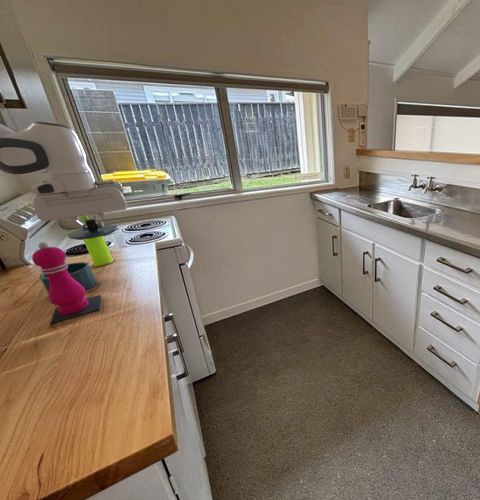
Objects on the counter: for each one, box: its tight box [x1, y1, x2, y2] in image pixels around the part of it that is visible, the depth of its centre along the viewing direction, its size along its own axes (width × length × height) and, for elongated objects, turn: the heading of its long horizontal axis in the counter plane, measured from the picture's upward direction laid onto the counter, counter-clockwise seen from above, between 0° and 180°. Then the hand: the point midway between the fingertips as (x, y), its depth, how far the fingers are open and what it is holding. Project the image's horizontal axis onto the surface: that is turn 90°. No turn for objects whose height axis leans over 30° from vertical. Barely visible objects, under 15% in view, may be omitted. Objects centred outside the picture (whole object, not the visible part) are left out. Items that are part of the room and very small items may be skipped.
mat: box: [49, 294, 102, 326], centre depth 80 cm, size 10×10×1 cm
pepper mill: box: [31, 241, 89, 315], centre depth 76 cm, size 7×7×20 cm
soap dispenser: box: [79, 215, 114, 267], centre depth 108 cm, size 6×7×20 cm
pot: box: [39, 261, 98, 296], centre depth 90 cm, size 11×11×8 cm
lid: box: [67, 218, 120, 240], centre depth 86 cm, size 12×12×5 cm
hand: (93, 229), depth 87 cm, fingers closed on lid, 2 cm apart
